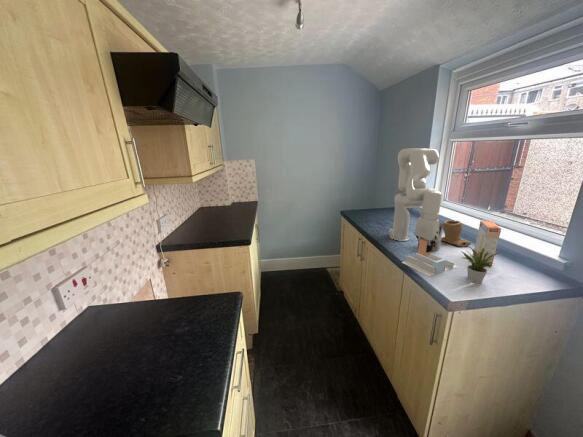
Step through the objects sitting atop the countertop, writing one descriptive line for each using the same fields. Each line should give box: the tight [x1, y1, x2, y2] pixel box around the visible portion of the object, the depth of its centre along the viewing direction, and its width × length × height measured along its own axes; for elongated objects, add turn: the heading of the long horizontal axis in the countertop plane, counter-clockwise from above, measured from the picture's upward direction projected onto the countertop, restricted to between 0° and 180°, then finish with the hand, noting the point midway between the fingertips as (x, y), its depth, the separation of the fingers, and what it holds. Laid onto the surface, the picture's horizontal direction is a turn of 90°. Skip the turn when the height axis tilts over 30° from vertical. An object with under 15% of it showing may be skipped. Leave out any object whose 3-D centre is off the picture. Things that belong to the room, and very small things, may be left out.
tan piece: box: [441, 219, 472, 247], centre depth 148 cm, size 15×12×15 cm
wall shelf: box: [401, 252, 459, 277], centre depth 121 cm, size 16×22×7 cm
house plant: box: [460, 245, 503, 285], centre depth 105 cm, size 14×14×16 cm
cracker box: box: [472, 220, 502, 266], centre depth 124 cm, size 14×6×21 cm, turn 153°
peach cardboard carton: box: [417, 238, 431, 256], centre depth 118 cm, size 4×4×8 cm
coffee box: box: [432, 223, 444, 252], centre depth 139 cm, size 9×6×16 cm
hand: (424, 249), depth 119 cm, fingers closed on peach cardboard carton, 4 cm apart
